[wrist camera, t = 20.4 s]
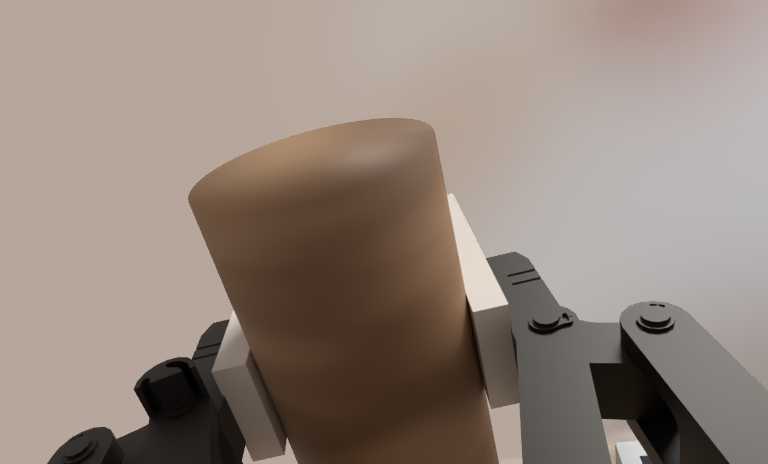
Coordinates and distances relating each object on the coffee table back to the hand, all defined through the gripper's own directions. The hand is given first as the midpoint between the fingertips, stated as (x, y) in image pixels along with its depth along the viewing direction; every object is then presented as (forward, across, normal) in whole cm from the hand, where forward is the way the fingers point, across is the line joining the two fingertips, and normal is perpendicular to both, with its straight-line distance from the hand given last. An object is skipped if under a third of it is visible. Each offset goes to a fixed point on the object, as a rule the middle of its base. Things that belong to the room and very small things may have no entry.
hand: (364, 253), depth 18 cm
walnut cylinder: (-5, 0, -6) cm, 8 cm away
